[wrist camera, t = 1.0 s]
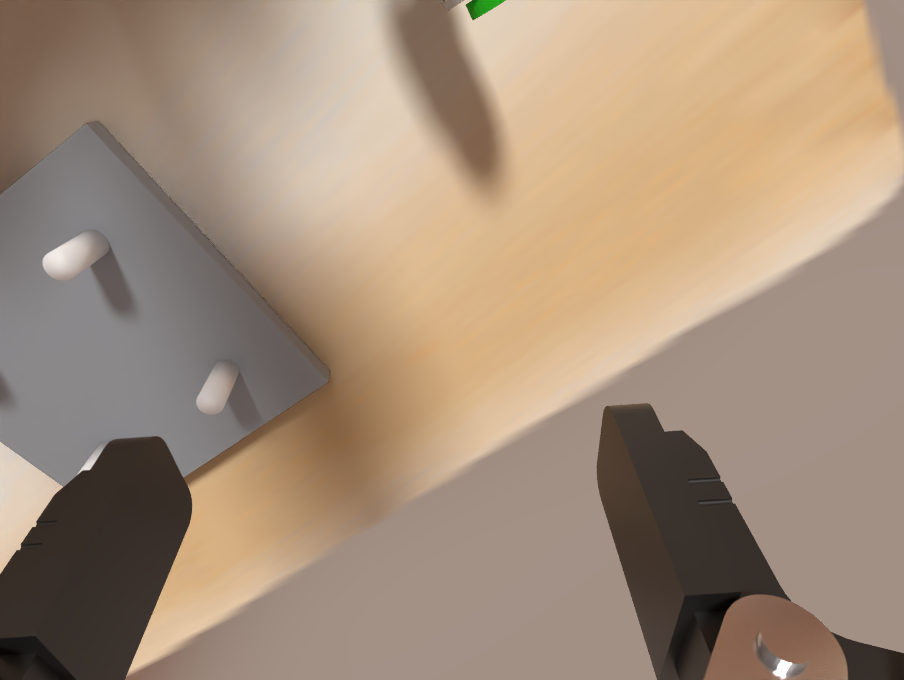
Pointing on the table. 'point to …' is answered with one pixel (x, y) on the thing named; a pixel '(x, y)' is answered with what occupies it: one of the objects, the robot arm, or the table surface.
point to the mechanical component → (474, 6)
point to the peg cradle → (128, 320)
